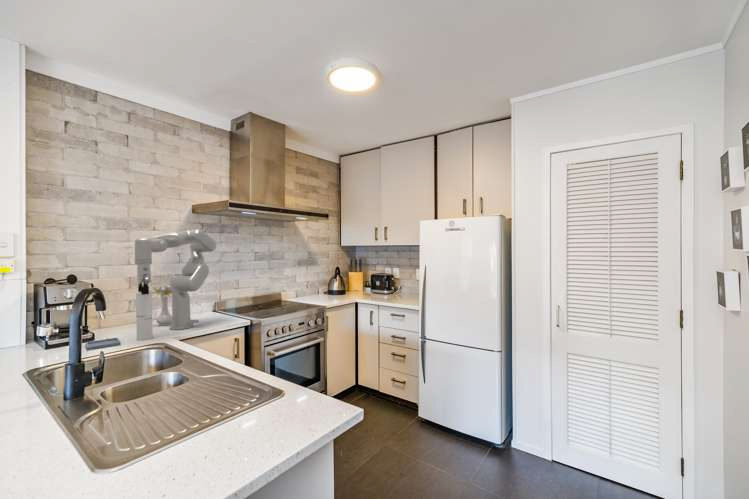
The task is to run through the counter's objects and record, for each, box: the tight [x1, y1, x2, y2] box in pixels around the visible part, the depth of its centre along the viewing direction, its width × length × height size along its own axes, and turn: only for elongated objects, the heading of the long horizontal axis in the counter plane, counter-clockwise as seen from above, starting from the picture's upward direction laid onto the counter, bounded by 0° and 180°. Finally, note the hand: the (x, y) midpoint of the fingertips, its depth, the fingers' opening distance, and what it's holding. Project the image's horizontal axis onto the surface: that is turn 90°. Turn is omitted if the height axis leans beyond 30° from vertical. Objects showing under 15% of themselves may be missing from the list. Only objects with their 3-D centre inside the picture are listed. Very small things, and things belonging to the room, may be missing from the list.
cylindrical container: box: [135, 290, 154, 341], centre depth 182 cm, size 7×7×25 cm
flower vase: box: [152, 285, 172, 327], centre depth 216 cm, size 13×18×25 cm
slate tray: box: [85, 337, 122, 351], centre depth 170 cm, size 13×13×2 cm
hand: (143, 293), depth 182 cm, fingers open, 9 cm apart
